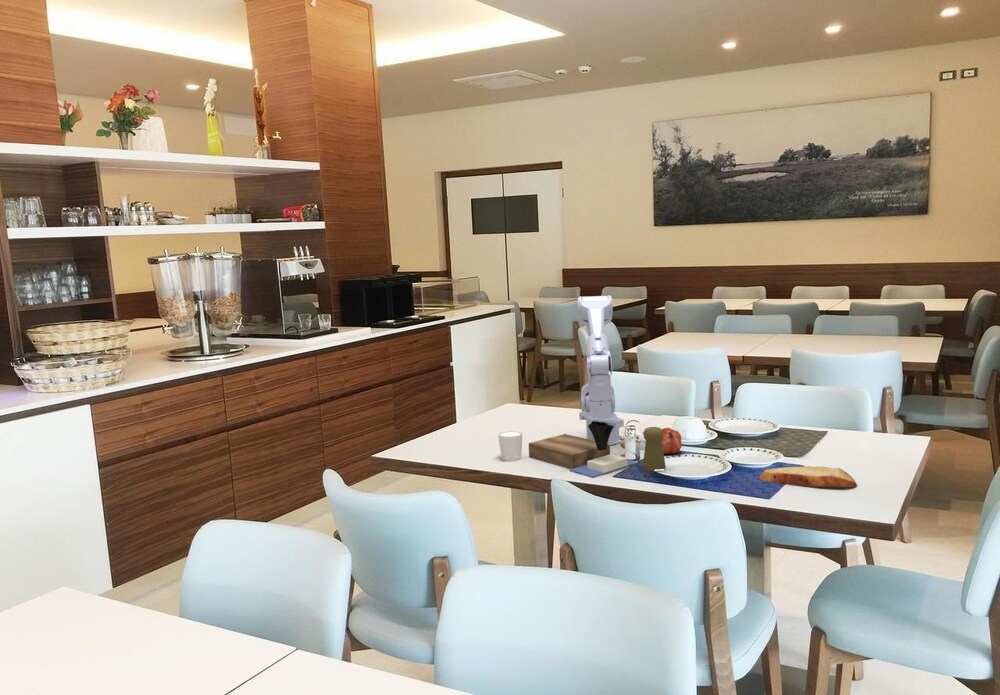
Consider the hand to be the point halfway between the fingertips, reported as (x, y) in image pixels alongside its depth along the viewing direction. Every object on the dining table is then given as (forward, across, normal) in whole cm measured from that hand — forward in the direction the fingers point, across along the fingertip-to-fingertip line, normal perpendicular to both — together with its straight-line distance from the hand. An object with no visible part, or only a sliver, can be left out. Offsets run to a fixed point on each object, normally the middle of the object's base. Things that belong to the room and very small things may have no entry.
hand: (601, 449), depth 216 cm
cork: (+5, +11, +8) cm, 14 cm away
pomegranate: (+5, +4, +22) cm, 23 cm away
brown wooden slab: (+5, -13, 0) cm, 14 cm away
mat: (+5, +1, 0) cm, 5 cm away
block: (+2, +2, 0) cm, 3 cm away
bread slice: (+5, +45, +24) cm, 52 cm away
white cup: (+5, -25, -11) cm, 28 cm away
